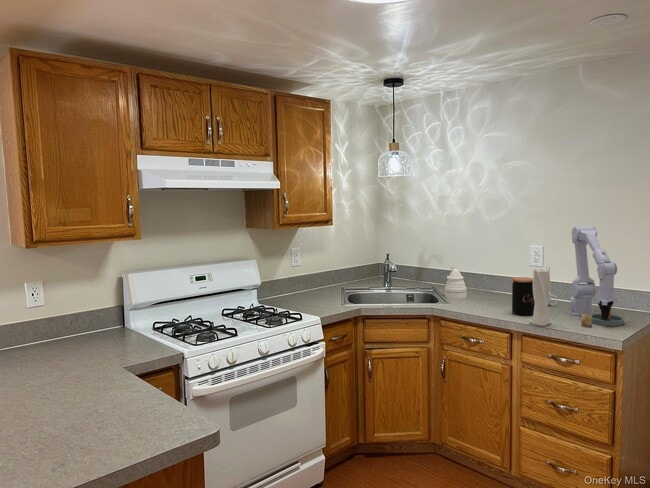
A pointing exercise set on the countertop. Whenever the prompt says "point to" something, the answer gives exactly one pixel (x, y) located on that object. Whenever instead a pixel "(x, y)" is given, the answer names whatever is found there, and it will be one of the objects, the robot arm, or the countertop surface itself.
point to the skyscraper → (541, 296)
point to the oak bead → (586, 320)
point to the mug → (550, 299)
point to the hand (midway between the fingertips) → (605, 317)
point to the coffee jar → (522, 296)
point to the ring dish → (614, 321)
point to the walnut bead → (608, 317)
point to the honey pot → (455, 285)
